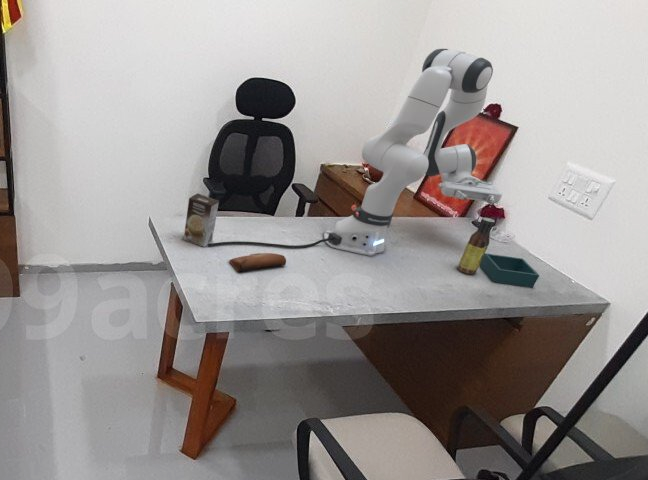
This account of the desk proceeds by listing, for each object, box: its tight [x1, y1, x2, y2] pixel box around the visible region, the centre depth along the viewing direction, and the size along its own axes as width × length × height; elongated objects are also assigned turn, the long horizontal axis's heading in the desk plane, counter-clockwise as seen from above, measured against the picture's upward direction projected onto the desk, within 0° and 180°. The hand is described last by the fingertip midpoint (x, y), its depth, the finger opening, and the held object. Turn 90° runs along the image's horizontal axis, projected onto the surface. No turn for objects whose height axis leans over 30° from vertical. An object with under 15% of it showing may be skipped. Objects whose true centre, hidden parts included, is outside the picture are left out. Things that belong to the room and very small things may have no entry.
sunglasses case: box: [229, 252, 287, 273], centre depth 174 cm, size 18×7×7 cm, turn 113°
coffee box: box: [183, 193, 220, 248], centre depth 182 cm, size 9×6×16 cm
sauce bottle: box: [457, 217, 496, 275], centre depth 181 cm, size 7×6×20 cm
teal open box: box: [479, 252, 540, 289], centre depth 184 cm, size 14×13×5 cm
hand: (478, 199), depth 184 cm, fingers open, 8 cm apart
